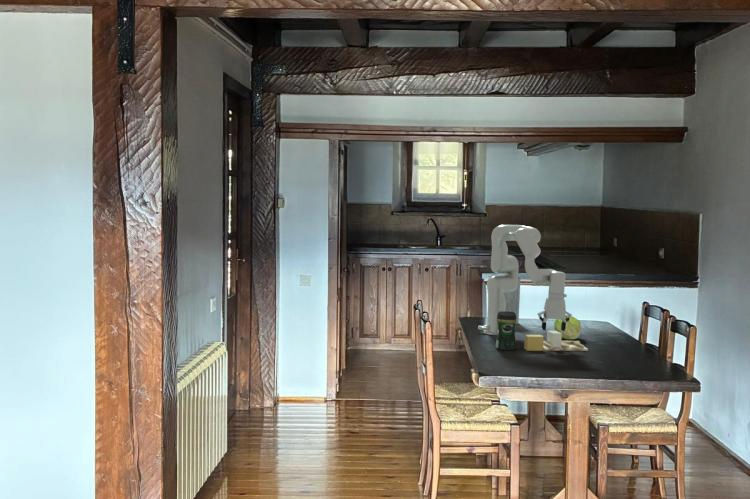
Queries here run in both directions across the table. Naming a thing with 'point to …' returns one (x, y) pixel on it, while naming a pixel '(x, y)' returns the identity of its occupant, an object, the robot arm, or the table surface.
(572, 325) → the lettuce
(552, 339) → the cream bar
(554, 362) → the table surface
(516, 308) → the vase
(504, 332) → the coffee jar
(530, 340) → the ochre bar
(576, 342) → the slot board
